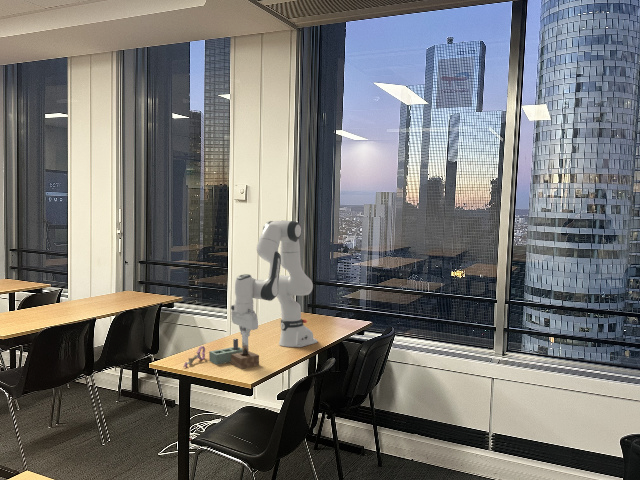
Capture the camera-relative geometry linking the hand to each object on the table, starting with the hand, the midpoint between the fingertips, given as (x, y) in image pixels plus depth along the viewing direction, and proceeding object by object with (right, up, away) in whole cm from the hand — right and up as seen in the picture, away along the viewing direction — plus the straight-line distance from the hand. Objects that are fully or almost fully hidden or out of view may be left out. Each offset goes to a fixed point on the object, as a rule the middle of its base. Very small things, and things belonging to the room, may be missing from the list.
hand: (245, 335), depth 269 cm
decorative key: (-26, -15, +4) cm, 30 cm away
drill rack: (-10, -14, +9) cm, 20 cm away
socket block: (0, -15, +1) cm, 15 cm away
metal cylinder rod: (0, -9, +1) cm, 9 cm away
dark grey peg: (-6, -14, +12) cm, 20 cm away
